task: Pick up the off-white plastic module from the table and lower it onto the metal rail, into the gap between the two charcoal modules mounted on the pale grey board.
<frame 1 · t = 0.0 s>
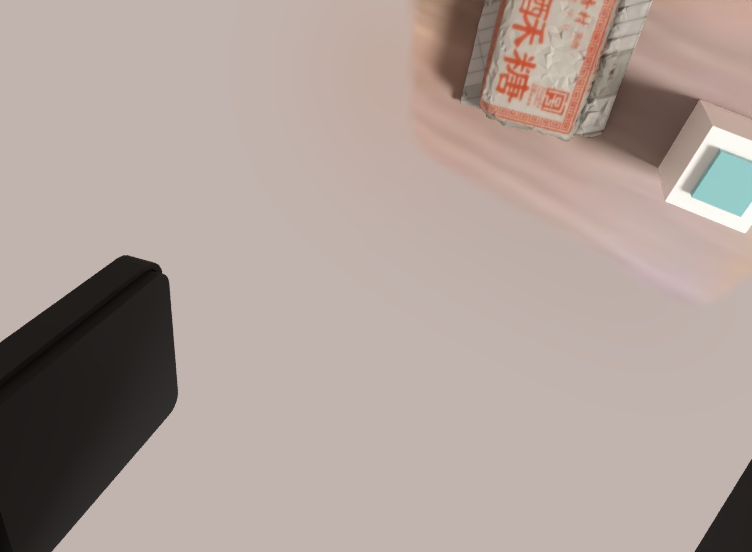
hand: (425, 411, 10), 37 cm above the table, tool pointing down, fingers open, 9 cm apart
module: (714, 148, 41), on the table
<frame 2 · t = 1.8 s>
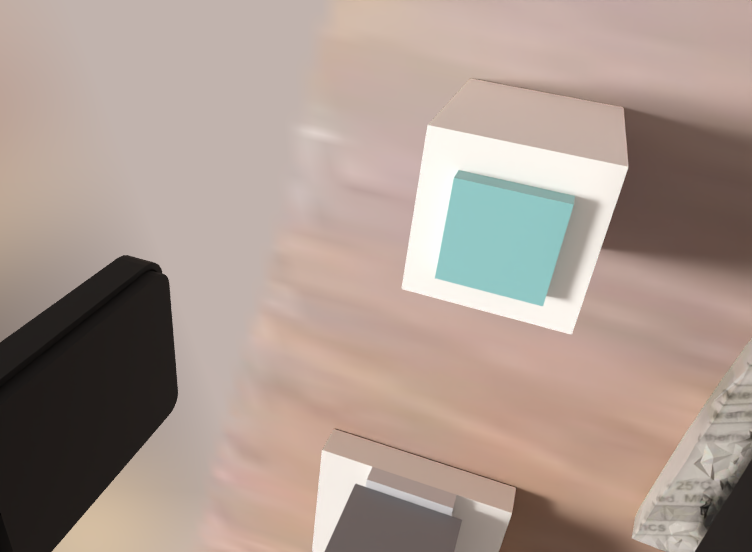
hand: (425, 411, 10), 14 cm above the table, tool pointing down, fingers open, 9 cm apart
module: (526, 164, 22), on the table
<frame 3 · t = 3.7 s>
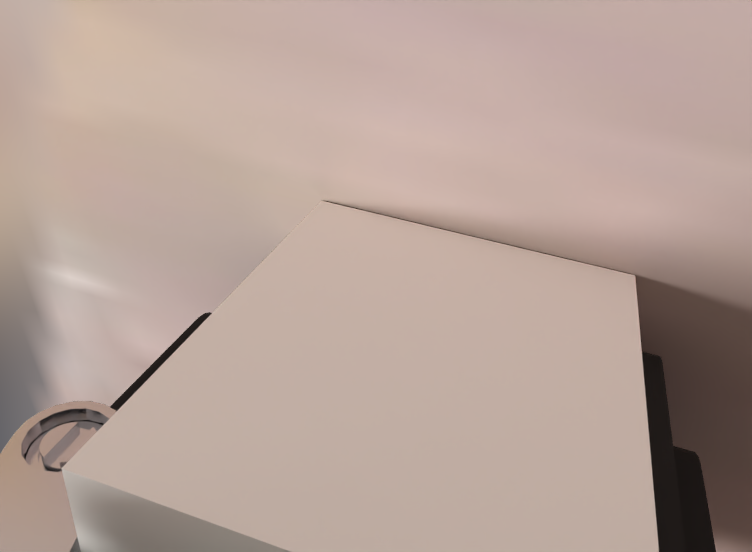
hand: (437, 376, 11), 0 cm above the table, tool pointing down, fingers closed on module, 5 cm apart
module: (444, 359, 11), on the table, touching gripper
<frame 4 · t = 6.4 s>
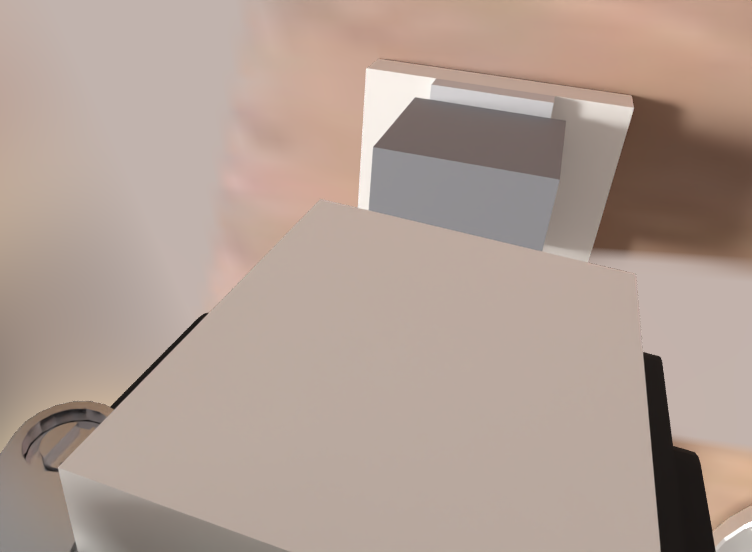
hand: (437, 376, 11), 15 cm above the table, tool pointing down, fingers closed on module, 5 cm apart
rail board: (463, 286, 27), on the table
module: (443, 358, 11), point 14 cm above the table, touching gripper
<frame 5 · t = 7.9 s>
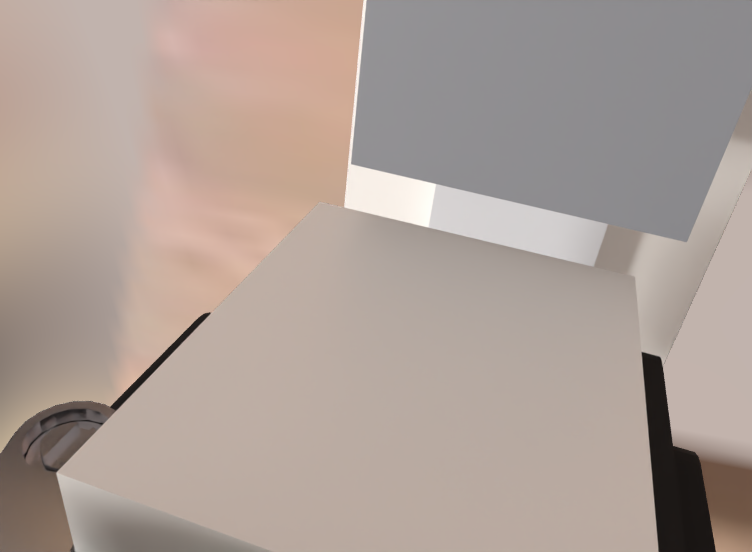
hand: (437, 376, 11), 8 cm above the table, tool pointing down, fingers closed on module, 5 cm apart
rail board: (518, 219, 17), on the table
module: (443, 361, 11), point 7 cm above the table, touching gripper
when the fingers open (4 cm above the table, at t = 9.1 s): module stays where it is, resting on rail board.
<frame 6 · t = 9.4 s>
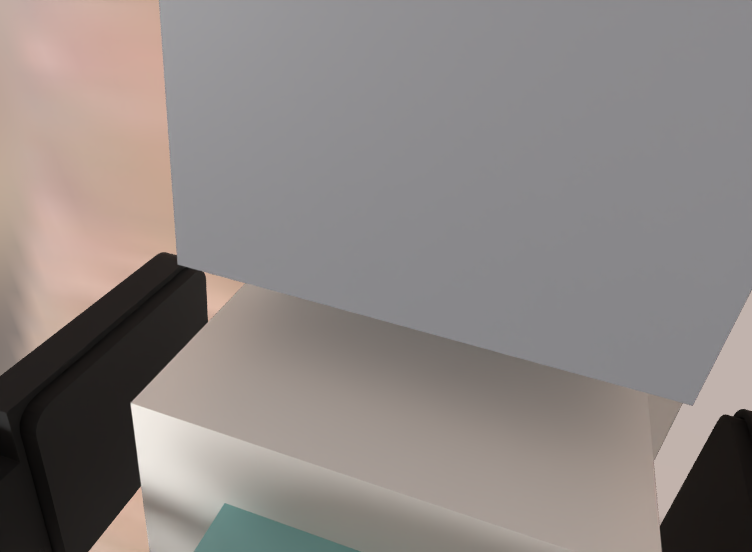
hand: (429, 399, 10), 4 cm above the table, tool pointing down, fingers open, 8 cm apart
rail board: (474, 272, 14), on the table
module: (454, 332, 12), point 2 cm above the table, touching rail board
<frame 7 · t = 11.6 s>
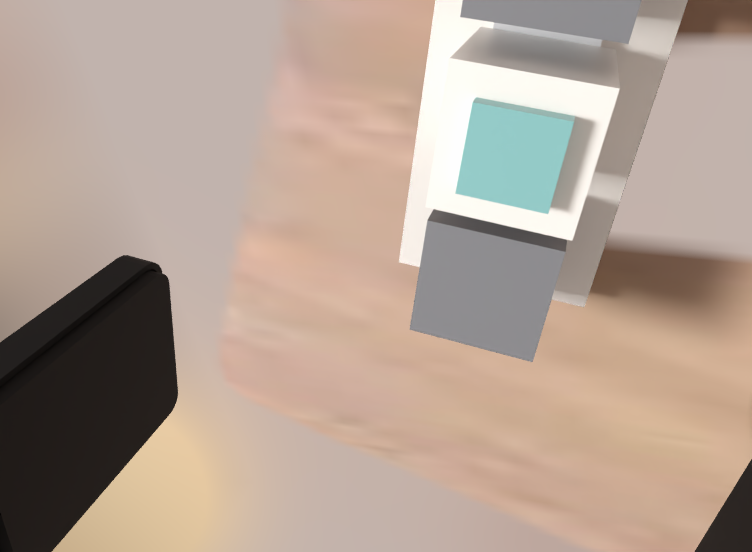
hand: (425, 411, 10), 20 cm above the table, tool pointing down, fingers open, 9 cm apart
rail board: (535, 89, 27), on the table
module: (531, 104, 25), point 2 cm above the table, touching rail board
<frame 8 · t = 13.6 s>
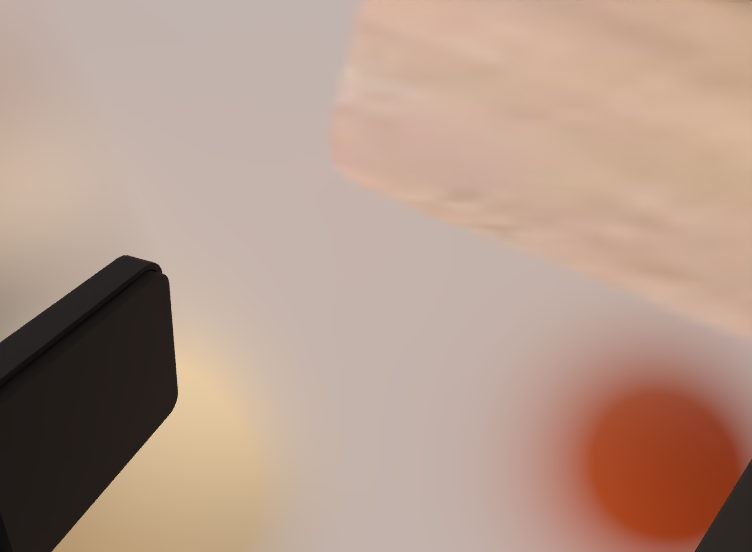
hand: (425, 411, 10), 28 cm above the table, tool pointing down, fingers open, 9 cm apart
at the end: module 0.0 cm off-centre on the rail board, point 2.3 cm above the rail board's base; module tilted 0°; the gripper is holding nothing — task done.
